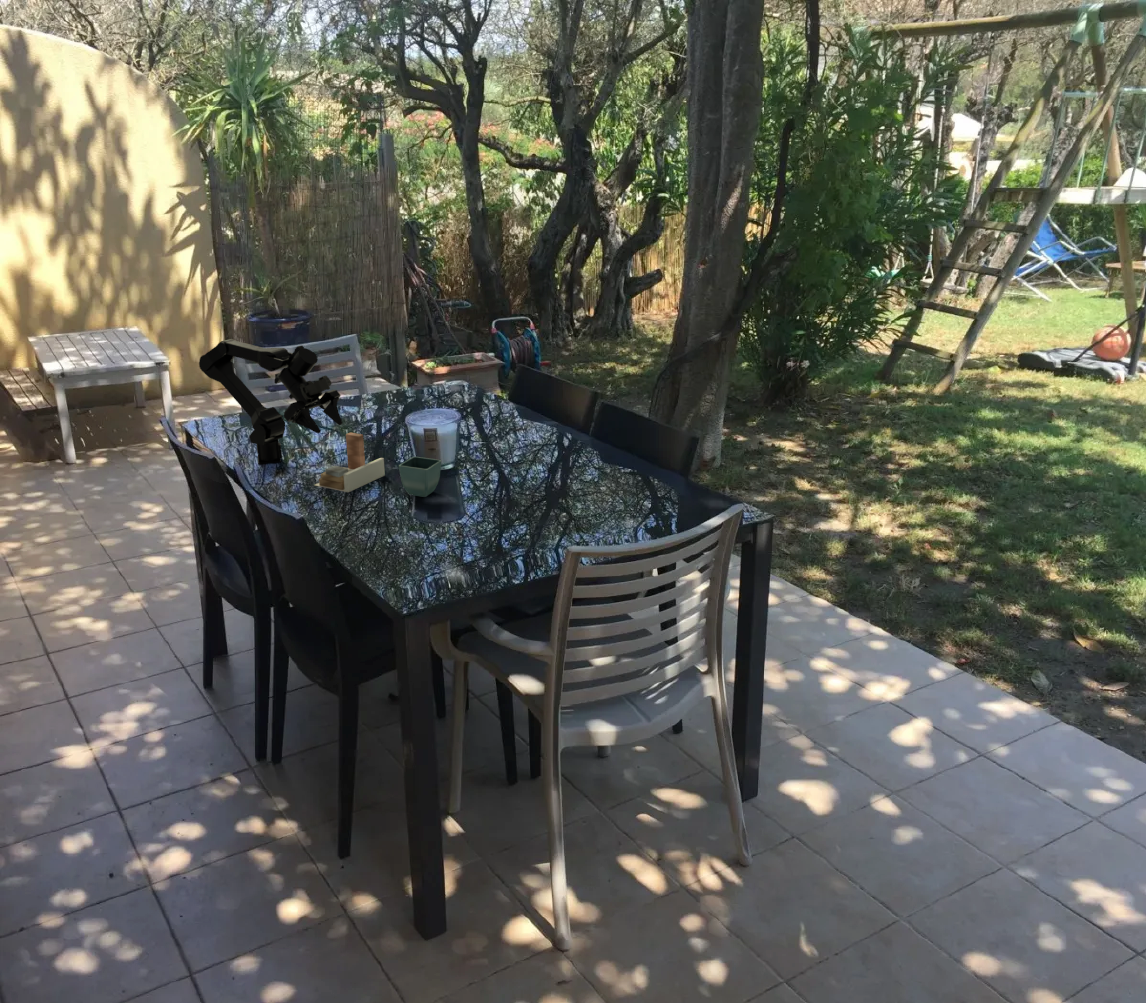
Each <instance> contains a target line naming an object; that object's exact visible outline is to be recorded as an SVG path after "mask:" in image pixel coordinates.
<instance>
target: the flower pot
mask: <svg viewBox="0 0 1146 1003" xmlns="http://www.w3.org/2000/svg"><path fill="white" fill-rule="evenodd" d="M441 467H442V460H441V459H436V458H428V457H422V456H421V457H419V456H412V457H410V458H408V459H407V460H405V461H404V462H402V463H400V464H399V465H398V470H399V475H400V481H401V484H402V486H403V488H404V490H405V491H406V492H407V494H408V495H410V496H413V497H414V496H416V497H420V498H421V497H423V498H426V497H428V496H429V495H430V494H432V493H433V492H434V491H435V489H436V488H437V485H438V484H439V481H440V477H441Z"/></svg>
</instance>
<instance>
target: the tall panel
mask: <svg viewBox="0 0 1146 1003" xmlns="http://www.w3.org/2000/svg"><path fill="white" fill-rule="evenodd" d="M345 441H346V442H345V443H346V454H347V468H349V469H356V468H358V467H361V466H363V465H365V464H366V458H365V443H364V434H361V433H355V432H348V433H346V434H345Z"/></svg>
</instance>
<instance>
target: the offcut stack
mask: <svg viewBox="0 0 1146 1003" xmlns="http://www.w3.org/2000/svg"><path fill="white" fill-rule="evenodd" d="M346 468H347V467H344V468H343V466H340V465H339V466H338V465H333V466H330V467H327V468H325V470H324V471H323V472H322V473H321V474H320V478H319V479H318V483H319V485H320V486H325V487H330V488H335V489H339V490H344V489H345V487H344V475H343V474H345V473H347V472H348V469H346ZM320 486H319V487H320ZM325 487H324V488H325ZM330 488H329V489H330ZM335 489H334V490H335ZM339 490H338V491H339Z"/></svg>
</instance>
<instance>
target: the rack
mask: <svg viewBox="0 0 1146 1003" xmlns="http://www.w3.org/2000/svg"><path fill="white" fill-rule="evenodd" d="M342 467H343V466H342ZM343 468H346V469H348V472H347V473H345V474H343V475H344V487H345V489H344V490H339V489H335V488H330V487H325V486H320V485H319V482H318V483H315V484H314V486H315V487H321V488H325V489H330V490H336V491H340V492H344V493H350V492H353V491H354V490H356V489H358V488H361V487H363V486H365V485H367V484H369V483H371V482H374V481H375V480H378V479H380V478H382V477H385V476H386V474H385V471H386V470H385V458H384V457H380V458H377V459H375V460H373V461H370V462H368V463H365V465H363V466H361V467H358V468H356V469H349V468H348V467H343Z"/></svg>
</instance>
